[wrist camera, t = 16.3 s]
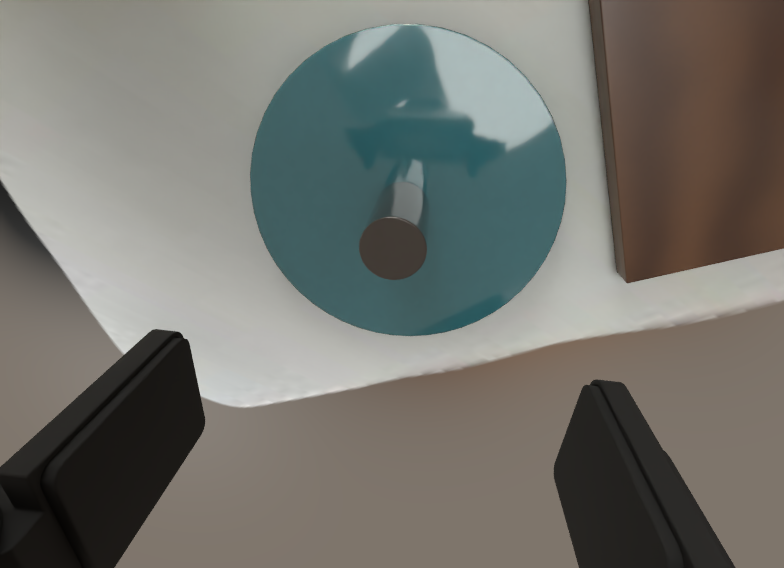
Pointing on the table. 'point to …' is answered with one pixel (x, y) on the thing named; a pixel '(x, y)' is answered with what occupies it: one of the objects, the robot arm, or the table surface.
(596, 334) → the table surface
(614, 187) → the board
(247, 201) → the table surface
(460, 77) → the lid
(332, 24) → the table surface
